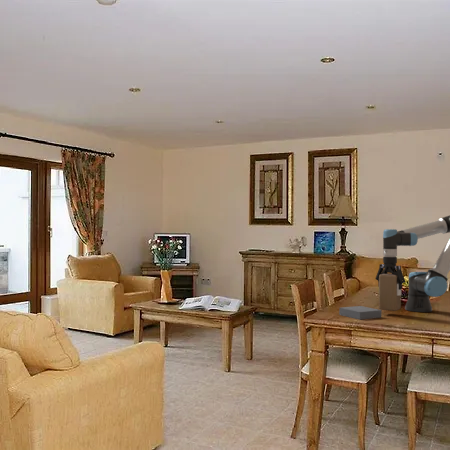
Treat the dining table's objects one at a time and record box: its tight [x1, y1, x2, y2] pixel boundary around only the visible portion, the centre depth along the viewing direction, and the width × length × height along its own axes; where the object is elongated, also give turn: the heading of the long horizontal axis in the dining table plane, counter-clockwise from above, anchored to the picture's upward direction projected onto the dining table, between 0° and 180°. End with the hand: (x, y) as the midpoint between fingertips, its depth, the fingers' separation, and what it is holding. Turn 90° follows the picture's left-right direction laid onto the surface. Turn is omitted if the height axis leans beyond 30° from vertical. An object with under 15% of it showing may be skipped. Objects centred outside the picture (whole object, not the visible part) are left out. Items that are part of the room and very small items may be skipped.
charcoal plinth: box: [338, 305, 383, 321], centre depth 290 cm, size 16×16×4 cm
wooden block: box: [378, 273, 402, 312], centre depth 297 cm, size 10×10×20 cm
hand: (389, 294), depth 297 cm, fingers closed on wooden block, 13 cm apart
